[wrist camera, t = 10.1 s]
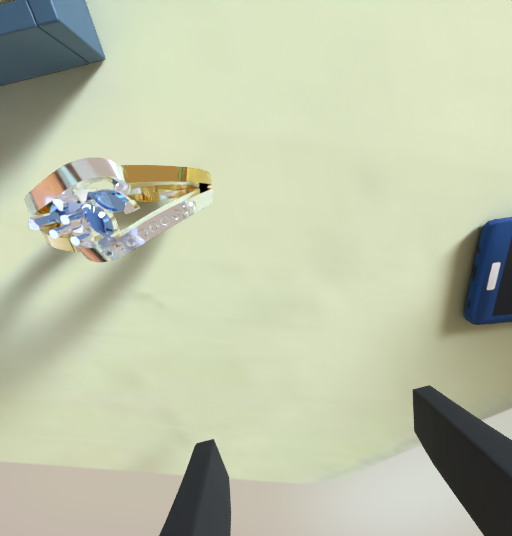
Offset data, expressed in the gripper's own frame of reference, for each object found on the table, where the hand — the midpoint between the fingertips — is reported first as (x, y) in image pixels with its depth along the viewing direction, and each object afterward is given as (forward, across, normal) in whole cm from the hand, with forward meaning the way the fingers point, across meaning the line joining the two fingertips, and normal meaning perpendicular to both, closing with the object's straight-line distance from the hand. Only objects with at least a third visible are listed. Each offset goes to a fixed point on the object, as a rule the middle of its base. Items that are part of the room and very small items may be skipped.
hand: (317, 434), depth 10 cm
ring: (+10, +5, -9) cm, 14 cm away
